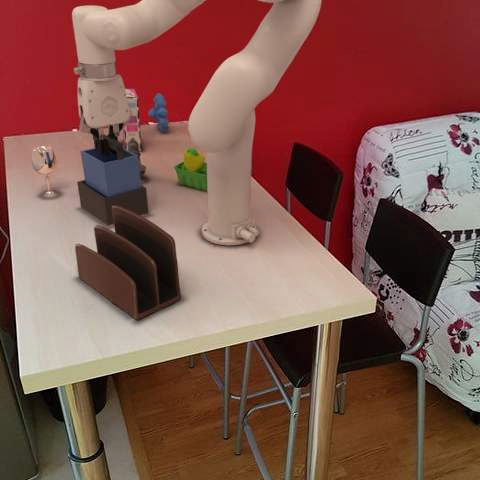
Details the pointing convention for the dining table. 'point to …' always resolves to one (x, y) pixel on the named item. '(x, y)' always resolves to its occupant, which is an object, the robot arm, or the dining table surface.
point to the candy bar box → (132, 120)
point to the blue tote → (111, 169)
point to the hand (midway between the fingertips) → (109, 153)
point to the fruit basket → (192, 170)
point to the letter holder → (132, 264)
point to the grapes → (160, 112)
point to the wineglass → (44, 162)
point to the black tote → (111, 202)
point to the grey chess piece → (134, 148)
